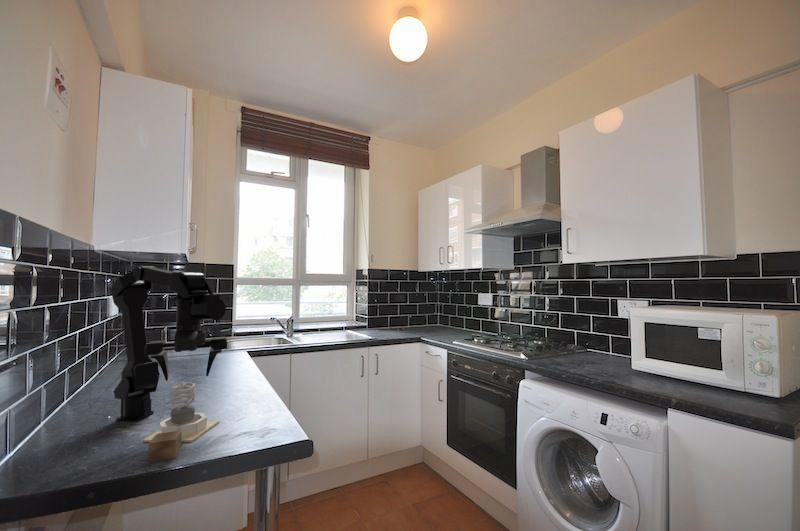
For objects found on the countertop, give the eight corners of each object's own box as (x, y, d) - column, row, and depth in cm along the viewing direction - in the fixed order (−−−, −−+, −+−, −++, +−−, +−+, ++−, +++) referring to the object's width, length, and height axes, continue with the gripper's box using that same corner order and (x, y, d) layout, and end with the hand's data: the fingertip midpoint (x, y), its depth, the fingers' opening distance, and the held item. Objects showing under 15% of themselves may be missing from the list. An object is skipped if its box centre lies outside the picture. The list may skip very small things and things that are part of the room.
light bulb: (176, 425, 94) (177, 379, 95) (199, 424, 95) (199, 378, 95) (164, 435, 89) (165, 385, 89) (188, 433, 89) (189, 384, 90)
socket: (142, 441, 86) (143, 429, 86) (176, 422, 98) (176, 411, 98) (191, 442, 86) (191, 429, 86) (219, 422, 97) (219, 411, 98)
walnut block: (148, 462, 76) (148, 443, 77) (155, 451, 81) (156, 433, 81) (175, 458, 78) (175, 439, 78) (181, 448, 83) (181, 430, 83)
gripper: (140, 324, 85) (138, 391, 84) (227, 320, 93) (226, 381, 92) (149, 319, 95) (147, 379, 94) (227, 316, 103) (226, 371, 102)
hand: (187, 378), depth 95 cm, fingers open, 9 cm apart
